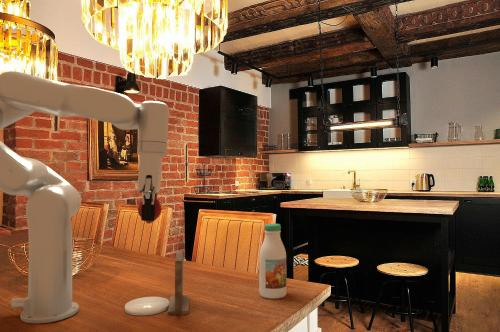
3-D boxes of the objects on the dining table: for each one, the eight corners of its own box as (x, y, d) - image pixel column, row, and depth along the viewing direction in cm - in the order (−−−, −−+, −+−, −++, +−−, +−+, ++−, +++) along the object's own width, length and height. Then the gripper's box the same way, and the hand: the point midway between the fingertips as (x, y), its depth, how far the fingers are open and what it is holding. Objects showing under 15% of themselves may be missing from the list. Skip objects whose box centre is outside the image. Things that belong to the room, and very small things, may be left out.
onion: (151, 221, 100) (153, 192, 101) (165, 223, 97) (166, 193, 97) (133, 223, 96) (134, 192, 96) (146, 225, 92) (147, 193, 93)
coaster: (121, 316, 90) (121, 312, 90) (129, 301, 100) (129, 297, 100) (167, 314, 91) (167, 310, 91) (170, 299, 102) (170, 295, 102)
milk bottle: (255, 297, 104) (255, 225, 104) (264, 289, 111) (264, 222, 111) (282, 300, 101) (281, 226, 101) (289, 292, 108) (289, 223, 108)
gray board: (167, 315, 91) (167, 261, 91) (170, 298, 103) (170, 251, 103) (188, 313, 91) (188, 260, 92) (189, 297, 103) (189, 250, 104)
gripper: (142, 151, 105) (139, 215, 104) (132, 146, 88) (128, 223, 87) (169, 152, 106) (166, 215, 106) (164, 147, 89) (161, 223, 88)
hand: (149, 218), depth 96 cm, fingers closed on onion, 5 cm apart
